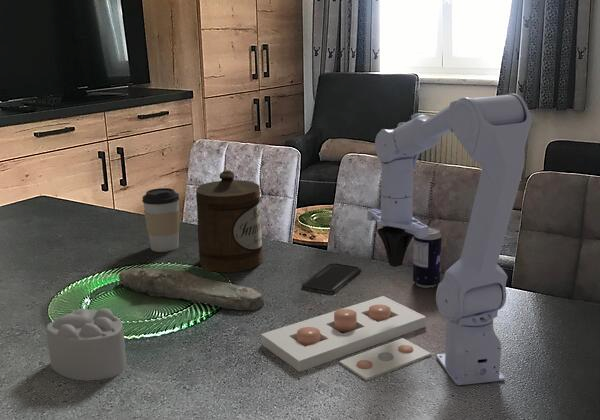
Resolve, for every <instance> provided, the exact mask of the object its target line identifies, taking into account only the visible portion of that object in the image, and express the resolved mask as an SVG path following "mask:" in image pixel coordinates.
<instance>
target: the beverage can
mask: <svg viewBox="0 0 600 420" xmlns="http://www.w3.org/2000/svg"><path fill="white" fill-rule="evenodd" d="M440 232H441V231H440V229H439V228H437V227H432V226H428V237H424V238H417V237H416V235H414V236H413V254H412V255H413V257H412V281H413V283H415V284H416V286H417V287H419V288H423V289H432V288H435V287H436V286H438V285H439V284H440V283H441V267H442V265H441V261H442V260H441V259H442V235H441V233H440ZM434 286H435V287H434ZM429 287H430V288H429ZM431 287H432V288H431Z"/></svg>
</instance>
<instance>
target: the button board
mask: <svg viewBox="0 0 600 420" xmlns="http://www.w3.org/2000/svg"><path fill="white" fill-rule="evenodd" d="M372 305H386V306H388V307H390V309H391V312H390V318H389V319H386V320H383V321H380V322H377V321H375V320H373V319H371V318H369V307H370V306H372ZM342 309H350V310H353V311H355V312H356V314H357V327H356V329H354V330H352V331H346V332H344V333H342V332H341V331H339V330H337V329H335V328H334V312H335V311H337V310H338V309H336V310H333V311H330V312H328V313H324V314H322V315H318V316H314V317H311V318H308V319H305V320H301V321H299V322H295V323H292V324H289V325H285V326H283V327H279V328H276V329H273V330H269V331H267V332H263V333H261V334H260V335H261V336H260V339H261V345H262V346H263V347H265V348H266V349H267V350H268V351H270V352H272V353H273V354H274V355H275V356H276V357H278V358H279V359H281V360H282V361H283V362H285V363H287V364H288V365H289V366H290V367H292V368H293V369H294V370H296V371H297V372H299V373H301V372H303V371H306V370H309V369H312V368H315V367H318V366H321V365H323V364H326V363H329V362H331V361H334V360H337V359H339V358H342V357H346V356H348V355H351V354H354V353H356V352H359V351H362V350H365V349H367V348H370V347H373V346H375V345H378V344H381V343H384V342H387V341H390V340H392V339H395V338H396V339H397V338H398V337H400V336H404V335H406V334H409V333H413V332H415V331H417V330H421V329H423V328H425V327H426V325H427V316H426V315H423V314H421V313H419V312H417V311H415V310H413V309H412V308H409V307H407V306H405V305H403V304H400V303H399V302H397V301H394V300H393V299H391V298H389V297H387V296H384V295H381V296H378V297H375V298H372V299H369V300H365V301H362V302H360V303H356V304H354V305H353V304H352V305H349V306H347V307H346V306H345V307H344V308H342ZM304 327H314V328H317V329H319V330H320V342H318V343H315V344H312V345H309V346H306V347H304V346H303V345H301V344H300V343H298V342H297V331H298V330H299V329H301V328H304Z"/></svg>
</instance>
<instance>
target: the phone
mask: <svg viewBox="0 0 600 420" xmlns="http://www.w3.org/2000/svg"><path fill="white" fill-rule="evenodd" d="M361 269H362V268H361V267H360V266H353V265H346V264H342V263H336V262H335V263H334V262H333V263H329V264H327V265H326V266H325V267H323V268H322V269H321V270H319V271H317V272H316V273H315V274H313V275H312V276H311V277H309V278H308V279H307V280H305V281H304V282H302V283H301V288H302V289H303V290H306V291H311V292H318V293H322V294H323V293H324V294H327V295H333V294H336V293H338V292H339V291H340V290H341V289H343V287H344V286H346V285H347V284H348V283H350V282H351V281H352V280H353V279H355V278H356V277H357V276H358V275H359V274H361V272H362V270H361Z"/></svg>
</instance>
